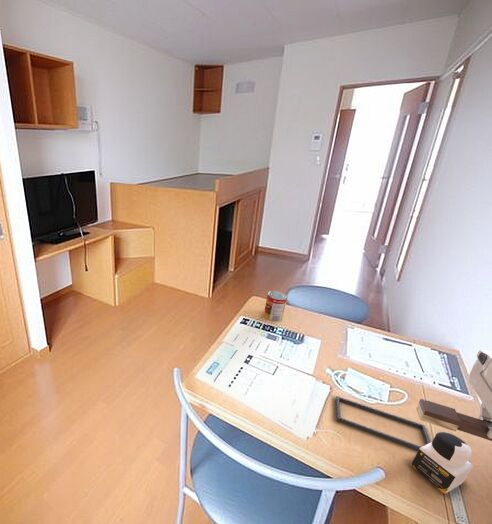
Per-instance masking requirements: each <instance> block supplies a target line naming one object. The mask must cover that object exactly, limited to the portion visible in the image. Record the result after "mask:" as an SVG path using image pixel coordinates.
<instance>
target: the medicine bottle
mask: <svg viewBox="0 0 492 524" xmlns="http://www.w3.org/2000/svg"><path fill="white" fill-rule="evenodd" d="M472 453H473V452H472V449H471V447H470V446H469V444H468V443H467V442H465V441H464V440H463V439H461V438H460V437H458V436H457V435H454V434H452V433H449V432H445V431H443V432H442V431H439V432H437V433H436V434H435V435H434V438H433V439H432V441H430V443H428V444H427V445H426V444H425V445H422V446H421V448H420V449H419V450H418V451H417V452H416V454H415V456H414V458H413V460H412V462H411V464H410V467H411V468H412V469H414V470H415V471H416V472H417V473H419V474H420V475H421V476H422V477H423V478H425V479H426V480H427V481H428V482H429V483H431V484H432V485H433V486H434V487H435V488H437V489H438V490H439V491H440V492H441V493H443V494H444V495H447V494H448V493H449V492H451V491H452V490H454V489H456V488H457V487H459V486H460V485H462V484H463V483H464V481H465V480H466V479H467V477H468V475H469V474H470V472H471V471H472V469H473V468H474V464H473V463H471V462H470V461H469V460H470V458H471V456H472V455H473V454H472Z"/></svg>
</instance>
